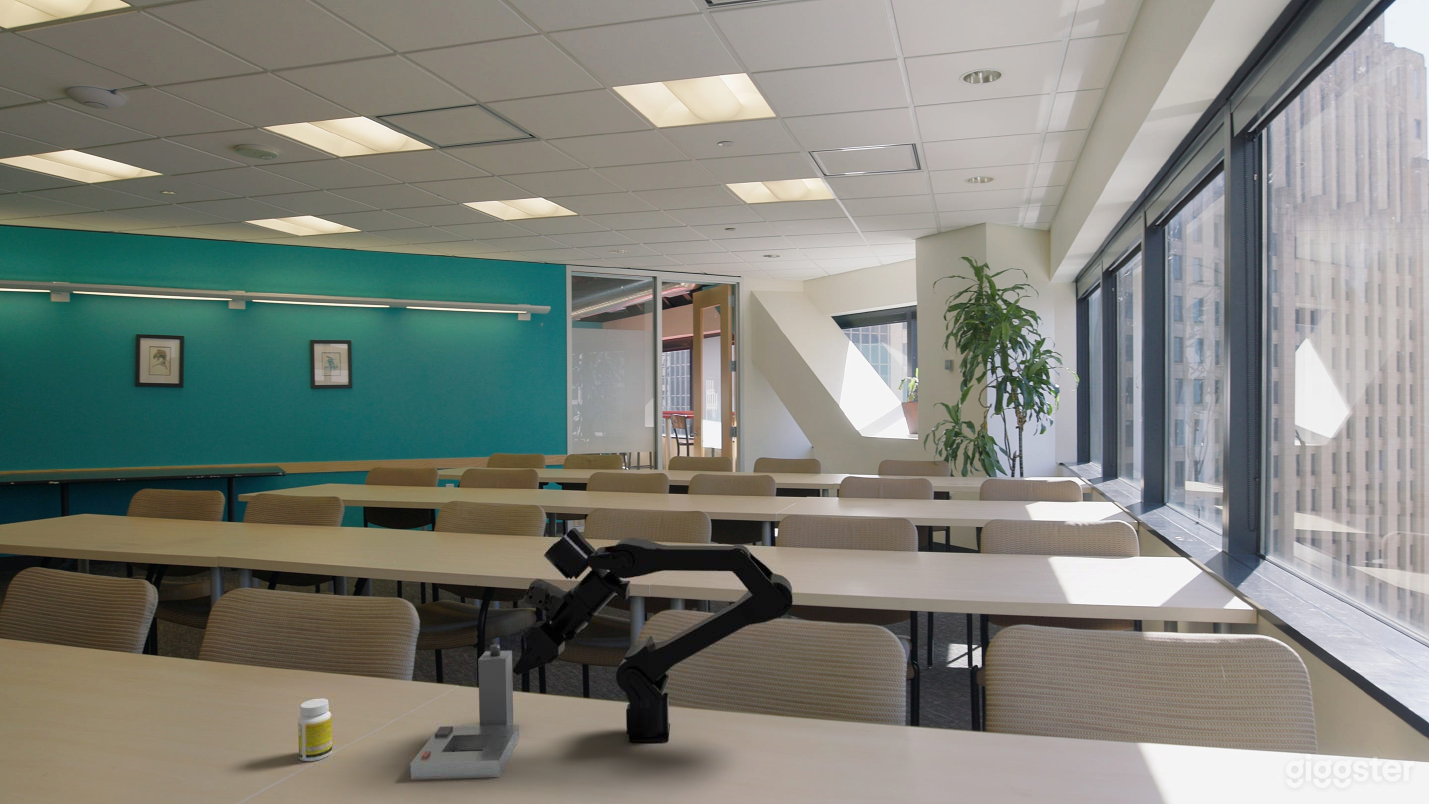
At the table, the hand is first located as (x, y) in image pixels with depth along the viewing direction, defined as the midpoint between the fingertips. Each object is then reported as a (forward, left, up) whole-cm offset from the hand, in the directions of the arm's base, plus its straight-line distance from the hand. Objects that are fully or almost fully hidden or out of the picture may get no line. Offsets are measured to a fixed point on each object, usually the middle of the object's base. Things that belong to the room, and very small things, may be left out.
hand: (524, 663), depth 133 cm
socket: (+7, +9, -12) cm, 17 cm away
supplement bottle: (+32, +6, -12) cm, 35 cm away
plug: (+5, -1, -12) cm, 13 cm away
